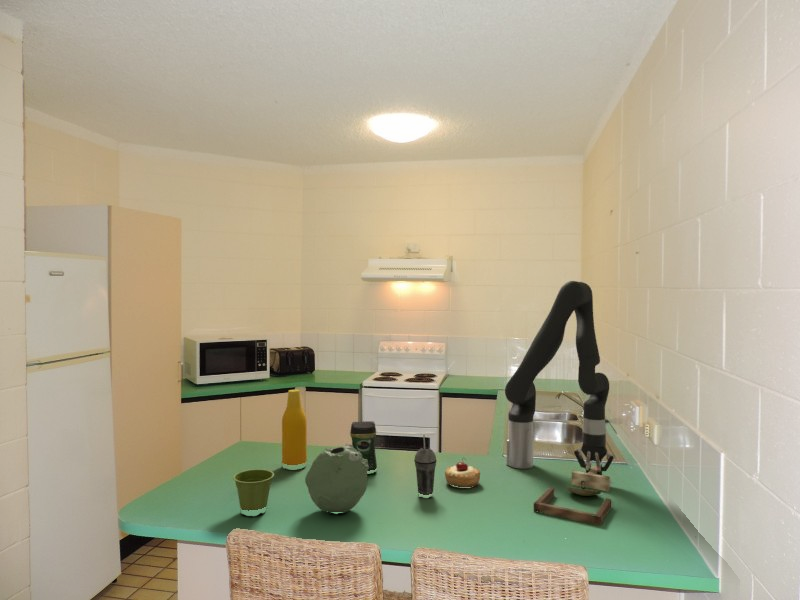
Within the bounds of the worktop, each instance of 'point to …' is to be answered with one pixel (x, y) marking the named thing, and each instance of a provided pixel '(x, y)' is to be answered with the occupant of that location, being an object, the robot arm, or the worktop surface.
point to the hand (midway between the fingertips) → (594, 481)
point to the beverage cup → (425, 469)
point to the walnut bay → (571, 510)
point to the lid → (583, 491)
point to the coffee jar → (365, 441)
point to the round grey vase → (337, 478)
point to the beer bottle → (294, 431)
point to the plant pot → (253, 488)
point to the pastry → (462, 475)
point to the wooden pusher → (591, 479)
